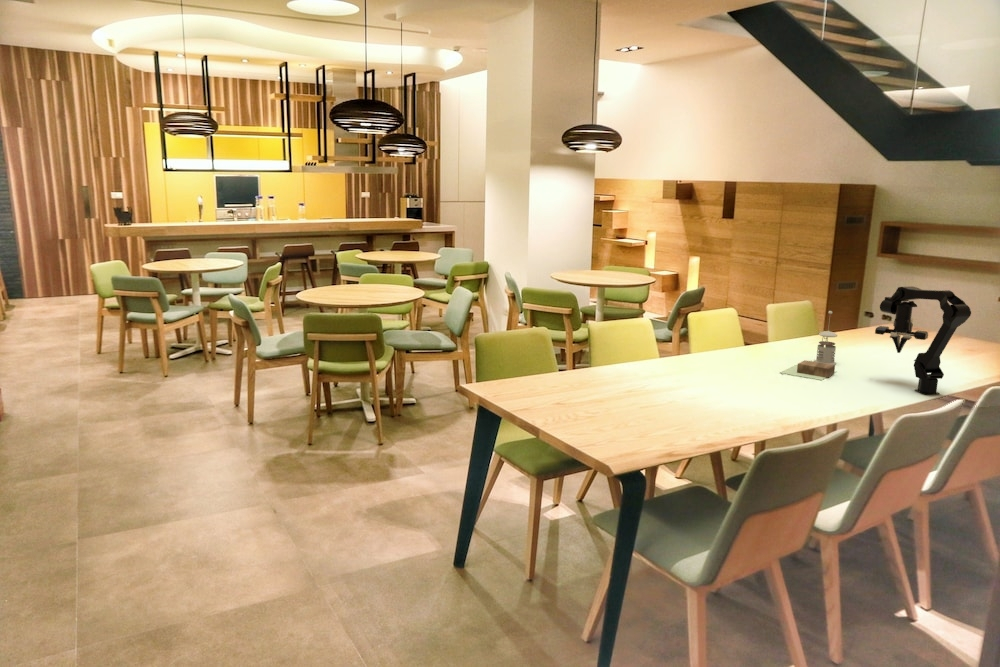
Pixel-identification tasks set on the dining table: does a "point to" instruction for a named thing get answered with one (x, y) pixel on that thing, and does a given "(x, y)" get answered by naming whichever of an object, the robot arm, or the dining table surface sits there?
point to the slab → (815, 368)
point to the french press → (826, 348)
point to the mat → (793, 372)
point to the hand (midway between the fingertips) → (898, 352)
